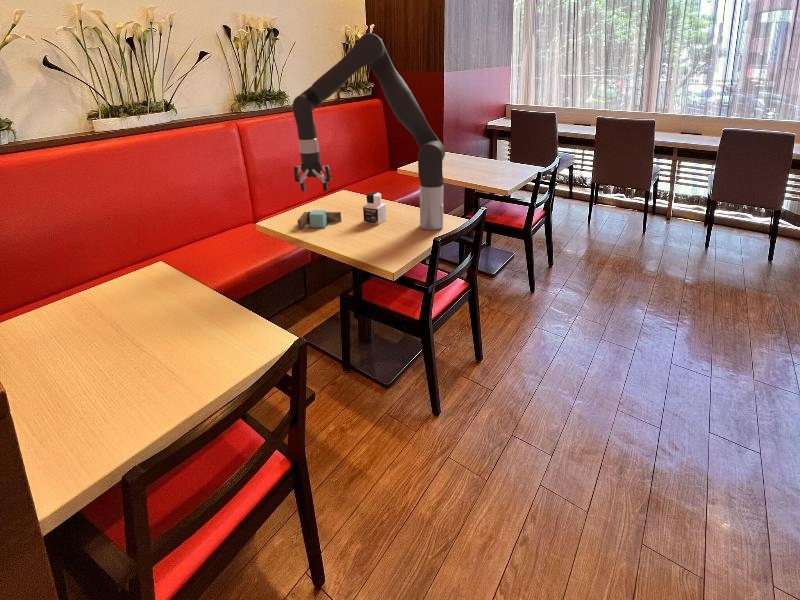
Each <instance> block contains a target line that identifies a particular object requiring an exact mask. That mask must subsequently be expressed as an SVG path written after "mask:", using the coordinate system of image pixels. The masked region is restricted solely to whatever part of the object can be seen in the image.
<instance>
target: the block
mask: <svg viewBox="0 0 800 600" xmlns="http://www.w3.org/2000/svg"><path fill="white" fill-rule="evenodd" d="M310 212H311V213H310V214H309V217H310V221H309V224H310V225H311V227H325V225H326V224H327V217H326V212H327V210H325V209H313V210H311V211H310ZM310 225H309V226H310ZM325 228H326V227H325Z"/></svg>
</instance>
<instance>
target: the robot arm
mask: <svg viewBox="0 0 800 600" xmlns="http://www.w3.org/2000/svg"><path fill="white" fill-rule="evenodd" d="M366 66H369V68H370V70H371V71H372V72H373V74H374V75H375V77H376V79H377V80H378V82H379V85H380V87H381V88H380V89H382V92H383V95H384V97H385V99H386V101H387V104H388V105H389V107H390V109H391V110H392V112H393V114H394V116H395V117H396V118H397V120H398V121H399V122H400V124H402V126H404V127H405V129H407V131H408V132H410V134H411V135H412V137H413V138H414V141H415V142H416V144H417V146H418V147H419V151H418V155H417V168H418V171H417V173H418V179H419V218H420V219H419V225H420V228H421V229H423V230H427V231H436V230H442V229H443V228H444V181H445V180H444V175H443V161H444V158H445V157H446V151H445V146H444V144H443V143H442V142H441V140H440V139H439V137H438V136H437V135H436V134H435V132H434V130H433V129H432V128H431V126H430V125H429V123H428V120H427V118H426V116H425V114H424V112H423V111H422V108H421V107H420V106H419V102H417V100H416V98H415V96H414V94H413V92H412V90H411V89H410V88H409V86H408V84H407V83H406V82H405V80H404V78H403V77H402V76H401V75H400V74H399V72H398V71H397V70H396V68H395V66H394V64H393V62H392V59H391V57H390V56H389V53H388V51H387V49H386V46H385V44H384V41H383V40H382V38H381V37H379V36H378V35H377V34H375V33H372V32H368V33H367V32H366V33H365V34H363V35H361V37H360V38H359V39H358V40H357V42H355V44H354V45H353V46H352V48H351V49H350V50H349V51H348V52H347V53H346V55H344V56H343V58H341V59H340V60H339V61H338V62H337V63H336V64H334V66H331V68H329V70H327V71H326V72H325V73H324V74H322V75H321V76H320V77H318V78H317V79H316V80H315V81H314V82H313V83H312V85H311V86H309V87H308V88H307V89H306V90H304V91H303V92H301V93H300V94H299V95H298V96H296V97H295V98H294V99H293V102H292V111H293V117H294V119H295V123H296V127H297V131H296V132H297V137H298V138H297V139H298V151H299V157H300V163H301V165H298V164H297V165H295V166H294V167H293V174H294V181H295V183H299V184H300V190H301V192H302V193H307V189H306V188H307V186H306V182H305V180H306V178H307V177H308V178H318V179H319V180H320V181H322V189H323V193H327V191H328V189H329V186H328V182H331V180H332V174H331V168H330V165H329V164H326V165H322V162H321V154H320V146H319V141H318V135H317V134H318V133H317V127H316V124H315V122H314V116H313V111H314V110H315V109H316V108H317V107H318V106H319V105H320V104H322V103H323V102H324V101H325V100H327V99H329V98H331V96H332V95H334V94H335V93H336V92H338V90H339V89H340V88H341V87H342V86H343V85H344V84H345V83H346V82H347V81H348V80H349V79H350V78H351V77H352V76H353V75H354V74H356V73H357V72H359V70H360V69H363V68H365V67H366ZM322 170H323V172H325V175H326V176H325V175H324V173H323V172H322ZM301 171H302V172H303V174H302V176H301V177H300V172H301Z"/></svg>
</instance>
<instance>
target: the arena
mask: <svg viewBox="0 0 800 600" xmlns="http://www.w3.org/2000/svg"><path fill="white" fill-rule="evenodd" d="M311 212H312V211H304V212H303V213H302V214H301V216H300V217H299V218H297V220H296V221H297V228H298V230H299V231H303V230H304V228H305V227H306V226H307V224H308V223H310V217H309V214H310V213H311ZM326 217H327V224H326V225H325V227H311V225H309V226H308V229H320V230H321V229H326V228H327V226H328V225H329V222H330V223H332V222H335V223H341V222H342V212H341V211H326Z"/></svg>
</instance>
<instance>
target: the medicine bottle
mask: <svg viewBox="0 0 800 600" xmlns="http://www.w3.org/2000/svg"><path fill="white" fill-rule="evenodd" d="M362 210H363V211H362V213H363V214H362V215H363V222H364V224H370V225H378V226H379V225H381V224H382V223H384V222H385V221H386V220H387V203H384V202H383V203H382V194H381V193H380V192H377V191H373V192H368V193H366V204H365V205H362Z"/></svg>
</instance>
